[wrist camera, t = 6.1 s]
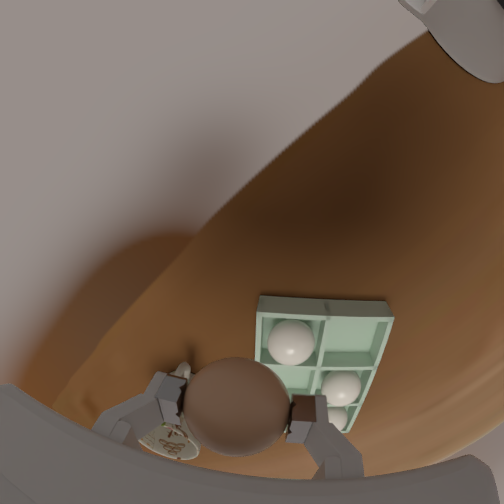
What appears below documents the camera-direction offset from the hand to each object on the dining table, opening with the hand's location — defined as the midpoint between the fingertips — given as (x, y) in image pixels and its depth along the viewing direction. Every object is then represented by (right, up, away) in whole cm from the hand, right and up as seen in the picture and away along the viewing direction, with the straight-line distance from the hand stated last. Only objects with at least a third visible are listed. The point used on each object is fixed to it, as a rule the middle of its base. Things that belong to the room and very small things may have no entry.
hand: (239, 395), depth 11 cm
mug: (-8, -10, +22) cm, 25 cm away
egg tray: (+8, -7, +19) cm, 22 cm away
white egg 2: (+11, -8, +18) cm, 22 cm away
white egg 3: (+11, -14, +20) cm, 27 cm away
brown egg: (0, 0, +2) cm, 2 cm away
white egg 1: (+5, -2, +17) cm, 17 cm away
